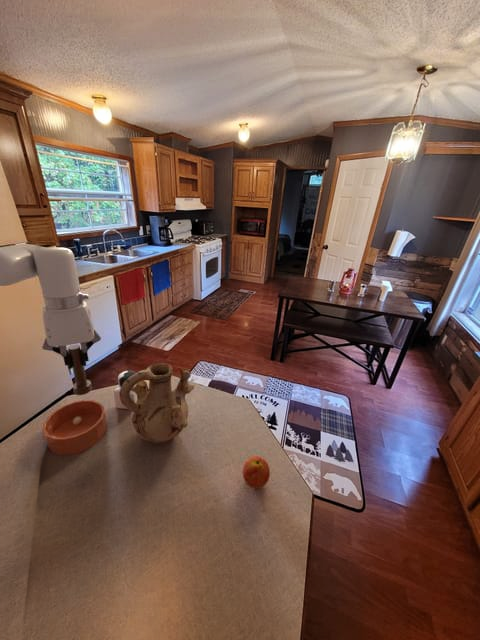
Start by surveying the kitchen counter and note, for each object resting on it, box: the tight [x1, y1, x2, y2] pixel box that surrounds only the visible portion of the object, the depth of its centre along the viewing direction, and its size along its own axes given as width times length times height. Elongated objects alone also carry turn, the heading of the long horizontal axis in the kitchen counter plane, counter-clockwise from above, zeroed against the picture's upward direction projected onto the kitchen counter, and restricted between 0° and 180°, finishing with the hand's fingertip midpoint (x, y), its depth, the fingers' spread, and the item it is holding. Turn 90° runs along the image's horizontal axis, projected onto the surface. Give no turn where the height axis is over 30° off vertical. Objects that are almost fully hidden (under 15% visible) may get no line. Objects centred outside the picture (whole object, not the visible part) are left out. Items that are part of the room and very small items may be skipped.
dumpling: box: [73, 417, 82, 425], centre depth 79 cm, size 2×2×2 cm
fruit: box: [242, 455, 271, 489], centre depth 65 cm, size 7×7×8 cm
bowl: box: [42, 399, 108, 456], centre depth 75 cm, size 15×15×6 cm
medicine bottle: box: [113, 370, 137, 410], centre depth 88 cm, size 7×7×12 cm
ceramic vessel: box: [119, 362, 195, 444], centre depth 74 cm, size 18×19×25 cm
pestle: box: [67, 344, 93, 396], centre depth 69 cm, size 4×4×14 cm
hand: (77, 364), depth 68 cm, fingers closed on pestle, 2 cm apart
